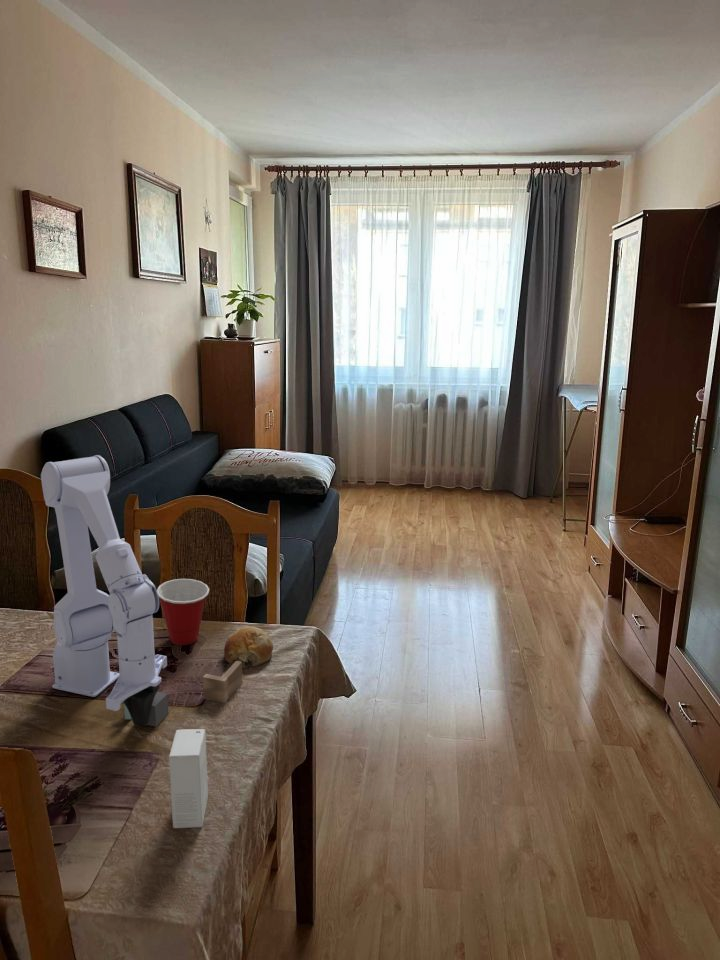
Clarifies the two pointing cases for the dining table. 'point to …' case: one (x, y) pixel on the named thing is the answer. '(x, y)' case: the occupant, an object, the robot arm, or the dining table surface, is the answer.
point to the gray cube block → (158, 709)
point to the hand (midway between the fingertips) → (140, 723)
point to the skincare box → (188, 778)
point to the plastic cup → (183, 608)
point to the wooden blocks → (222, 684)
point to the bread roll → (248, 647)
